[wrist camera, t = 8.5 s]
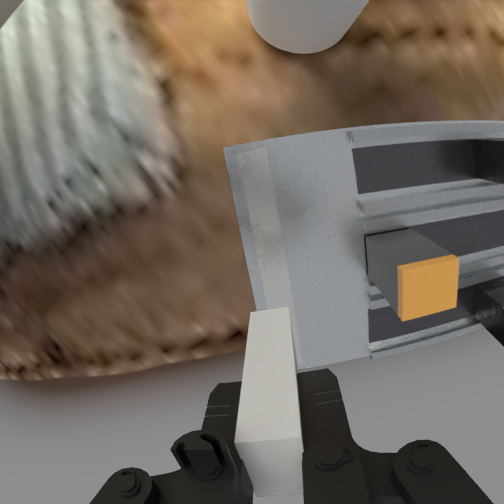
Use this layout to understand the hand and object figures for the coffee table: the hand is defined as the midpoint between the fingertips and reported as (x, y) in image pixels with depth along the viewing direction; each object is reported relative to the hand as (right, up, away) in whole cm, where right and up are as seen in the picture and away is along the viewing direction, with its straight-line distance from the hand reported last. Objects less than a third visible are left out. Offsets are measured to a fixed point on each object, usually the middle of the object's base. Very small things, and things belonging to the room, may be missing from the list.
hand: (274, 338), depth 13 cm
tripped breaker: (+7, +3, +5) cm, 10 cm away
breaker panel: (+12, +5, +7) cm, 15 cm away
